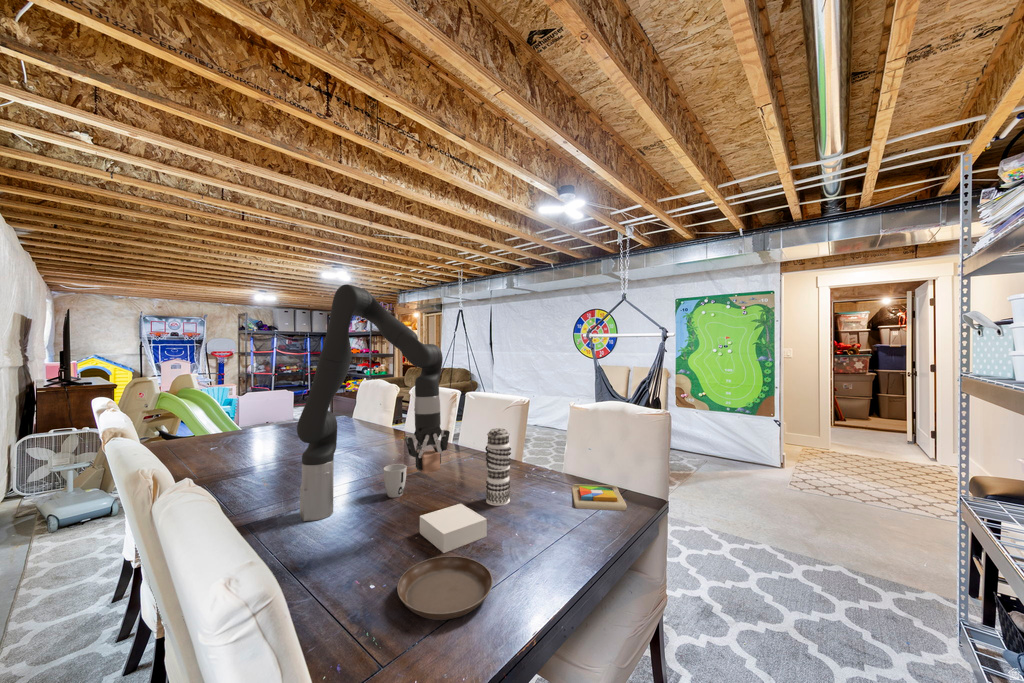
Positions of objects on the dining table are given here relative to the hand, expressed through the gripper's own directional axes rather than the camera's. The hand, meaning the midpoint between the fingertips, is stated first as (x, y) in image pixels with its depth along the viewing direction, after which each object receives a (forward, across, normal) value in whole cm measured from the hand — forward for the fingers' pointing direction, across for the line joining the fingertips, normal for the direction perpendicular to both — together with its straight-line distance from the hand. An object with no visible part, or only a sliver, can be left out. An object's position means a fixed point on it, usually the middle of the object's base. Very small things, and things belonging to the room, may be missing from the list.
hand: (428, 467), depth 115 cm
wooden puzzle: (+21, +58, -17) cm, 64 cm away
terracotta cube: (+1, 0, 0) cm, 1 cm away
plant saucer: (+19, -12, -29) cm, 37 cm away
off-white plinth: (+19, +4, -7) cm, 20 cm away
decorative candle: (+19, +29, +4) cm, 35 cm away
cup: (+18, +3, +32) cm, 37 cm away
